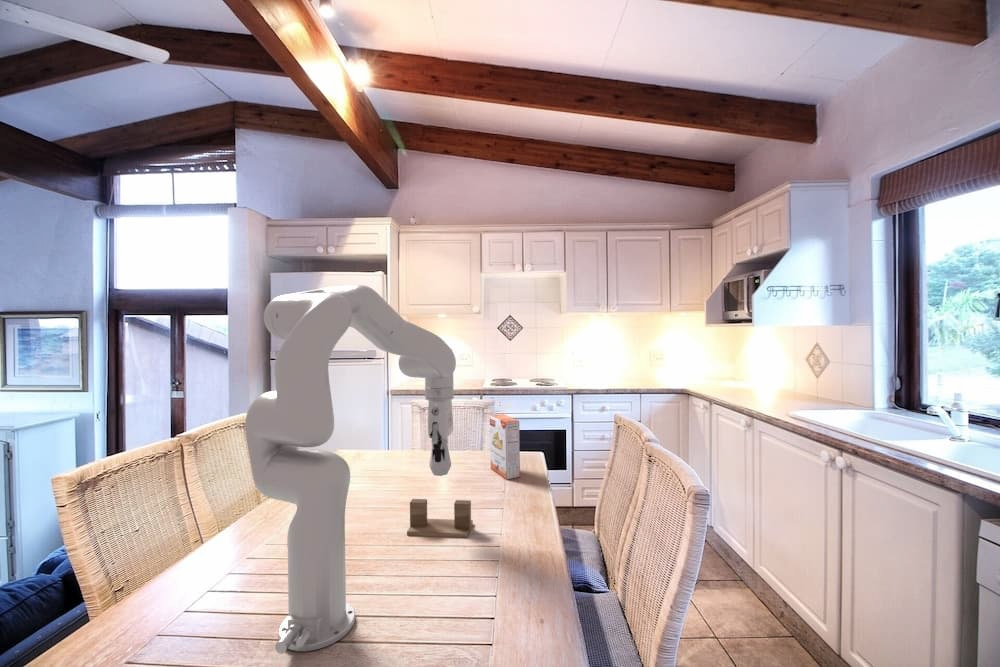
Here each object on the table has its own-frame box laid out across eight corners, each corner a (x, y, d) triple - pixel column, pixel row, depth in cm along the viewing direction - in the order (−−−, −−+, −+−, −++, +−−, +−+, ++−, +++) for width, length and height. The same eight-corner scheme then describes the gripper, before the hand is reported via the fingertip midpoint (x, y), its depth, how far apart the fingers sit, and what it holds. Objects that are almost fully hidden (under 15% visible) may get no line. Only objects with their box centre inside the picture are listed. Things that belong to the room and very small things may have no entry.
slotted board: (467, 537, 113) (467, 508, 113) (406, 535, 114) (406, 506, 114) (472, 523, 121) (472, 496, 121) (415, 521, 122) (415, 494, 122)
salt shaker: (447, 477, 114) (446, 427, 114) (426, 476, 115) (425, 427, 115) (454, 470, 120) (453, 422, 120) (434, 469, 121) (433, 422, 121)
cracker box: (489, 469, 168) (489, 414, 168) (503, 467, 171) (503, 413, 171) (505, 480, 155) (504, 421, 155) (520, 478, 158) (520, 419, 158)
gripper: (446, 398, 109) (447, 472, 109) (459, 389, 125) (460, 453, 125) (416, 398, 110) (418, 471, 110) (433, 389, 126) (434, 453, 126)
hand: (440, 461), depth 118 cm, fingers closed on salt shaker, 3 cm apart
